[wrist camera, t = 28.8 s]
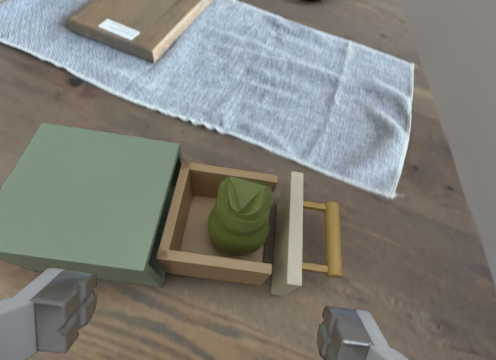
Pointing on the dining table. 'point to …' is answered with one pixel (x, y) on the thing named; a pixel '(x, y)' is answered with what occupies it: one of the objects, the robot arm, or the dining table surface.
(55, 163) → the cabinet
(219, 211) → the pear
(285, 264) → the drawer
